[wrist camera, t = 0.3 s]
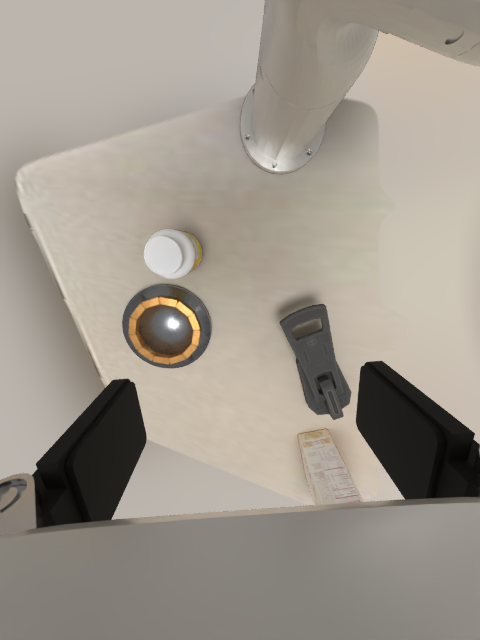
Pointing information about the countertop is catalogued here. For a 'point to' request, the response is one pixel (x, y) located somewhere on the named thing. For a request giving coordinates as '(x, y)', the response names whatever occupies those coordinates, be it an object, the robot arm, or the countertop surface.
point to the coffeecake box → (326, 470)
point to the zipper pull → (318, 363)
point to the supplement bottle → (172, 253)
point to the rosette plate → (167, 326)
